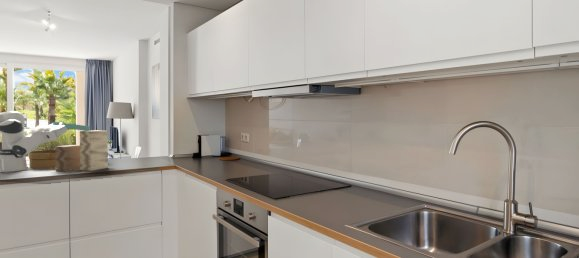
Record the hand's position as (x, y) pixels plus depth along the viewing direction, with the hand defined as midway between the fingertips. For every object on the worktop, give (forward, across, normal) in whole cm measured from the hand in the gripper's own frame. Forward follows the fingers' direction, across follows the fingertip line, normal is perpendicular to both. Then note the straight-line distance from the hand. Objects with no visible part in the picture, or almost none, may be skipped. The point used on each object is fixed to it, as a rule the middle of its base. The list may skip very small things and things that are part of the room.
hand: (59, 123), depth 212 cm
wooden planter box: (+4, -33, -39) cm, 51 cm away
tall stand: (+2, +7, -37) cm, 38 cm away
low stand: (-4, -6, -34) cm, 35 cm away
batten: (+6, +1, -7) cm, 9 cm away
